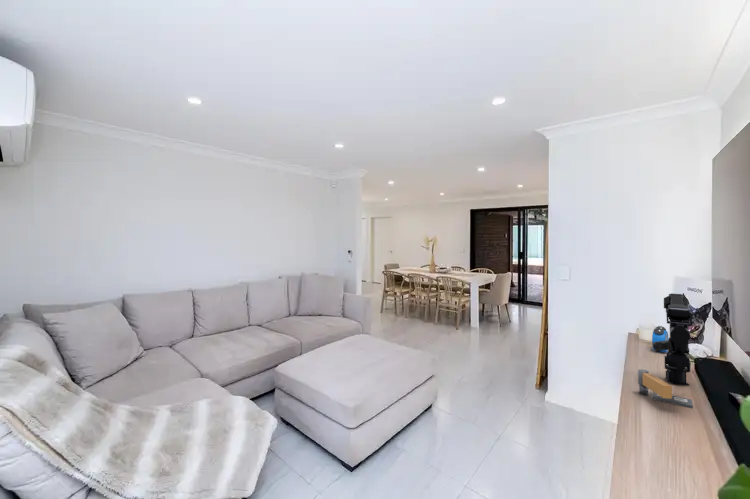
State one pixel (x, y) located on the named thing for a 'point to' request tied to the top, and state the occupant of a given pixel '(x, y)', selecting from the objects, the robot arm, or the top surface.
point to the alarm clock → (659, 335)
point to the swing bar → (654, 384)
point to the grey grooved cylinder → (643, 390)
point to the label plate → (674, 400)
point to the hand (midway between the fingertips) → (679, 373)
